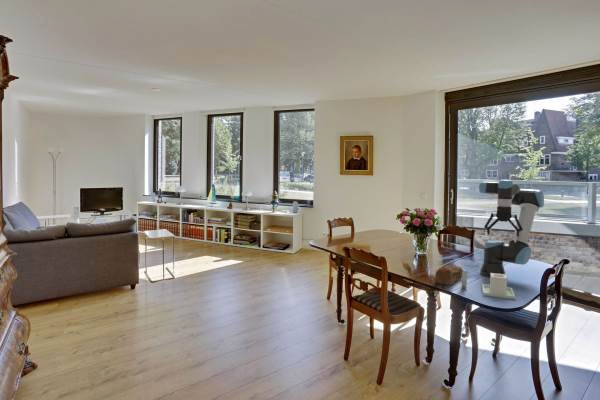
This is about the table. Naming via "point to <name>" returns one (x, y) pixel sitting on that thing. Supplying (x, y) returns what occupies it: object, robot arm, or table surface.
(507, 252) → the robot arm
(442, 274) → the bread
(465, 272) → the grey metal cylinder
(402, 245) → the table surface
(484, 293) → the tray
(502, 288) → the hollow block
